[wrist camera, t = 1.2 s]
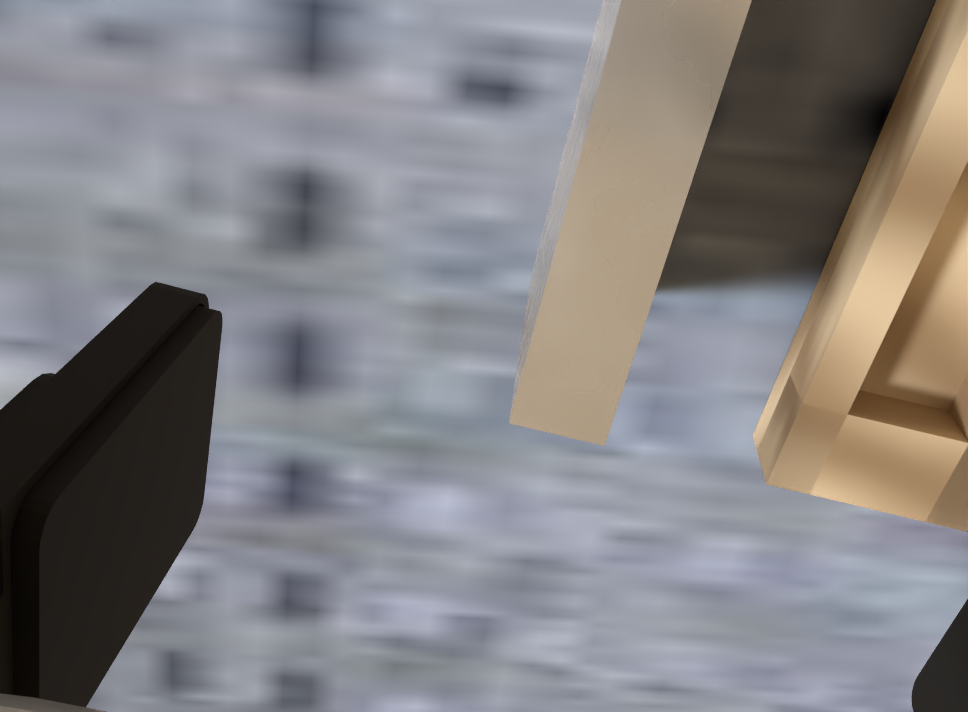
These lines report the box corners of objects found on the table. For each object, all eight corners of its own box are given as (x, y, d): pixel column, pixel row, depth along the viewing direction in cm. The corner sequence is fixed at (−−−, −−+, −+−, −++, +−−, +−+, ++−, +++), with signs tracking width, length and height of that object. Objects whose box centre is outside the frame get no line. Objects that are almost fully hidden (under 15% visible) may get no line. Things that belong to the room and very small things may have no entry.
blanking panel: (649, -184, 25) (676, -208, 17) (741, -161, 25) (815, -174, 17) (531, 277, 32) (508, 422, 24) (604, 294, 32) (608, 446, 24)
